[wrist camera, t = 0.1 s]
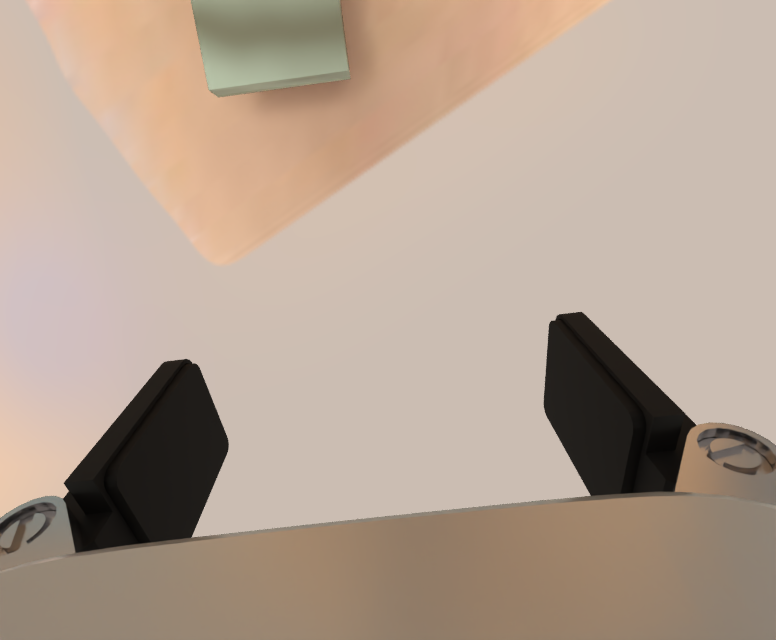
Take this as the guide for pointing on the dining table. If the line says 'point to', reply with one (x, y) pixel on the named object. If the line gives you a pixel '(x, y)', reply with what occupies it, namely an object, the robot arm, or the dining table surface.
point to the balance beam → (270, 44)
